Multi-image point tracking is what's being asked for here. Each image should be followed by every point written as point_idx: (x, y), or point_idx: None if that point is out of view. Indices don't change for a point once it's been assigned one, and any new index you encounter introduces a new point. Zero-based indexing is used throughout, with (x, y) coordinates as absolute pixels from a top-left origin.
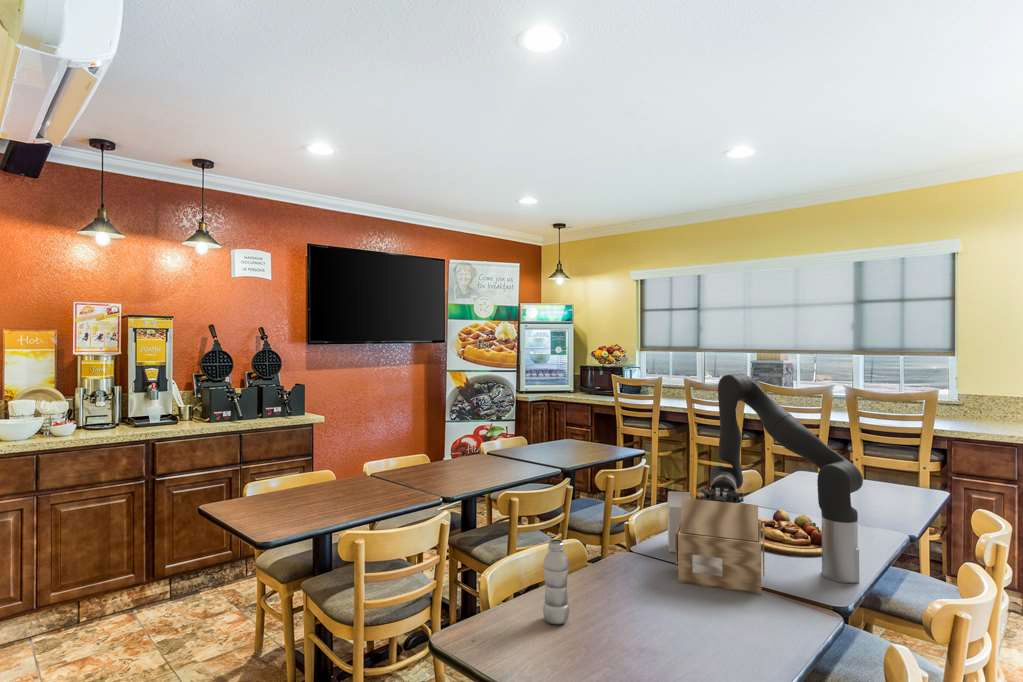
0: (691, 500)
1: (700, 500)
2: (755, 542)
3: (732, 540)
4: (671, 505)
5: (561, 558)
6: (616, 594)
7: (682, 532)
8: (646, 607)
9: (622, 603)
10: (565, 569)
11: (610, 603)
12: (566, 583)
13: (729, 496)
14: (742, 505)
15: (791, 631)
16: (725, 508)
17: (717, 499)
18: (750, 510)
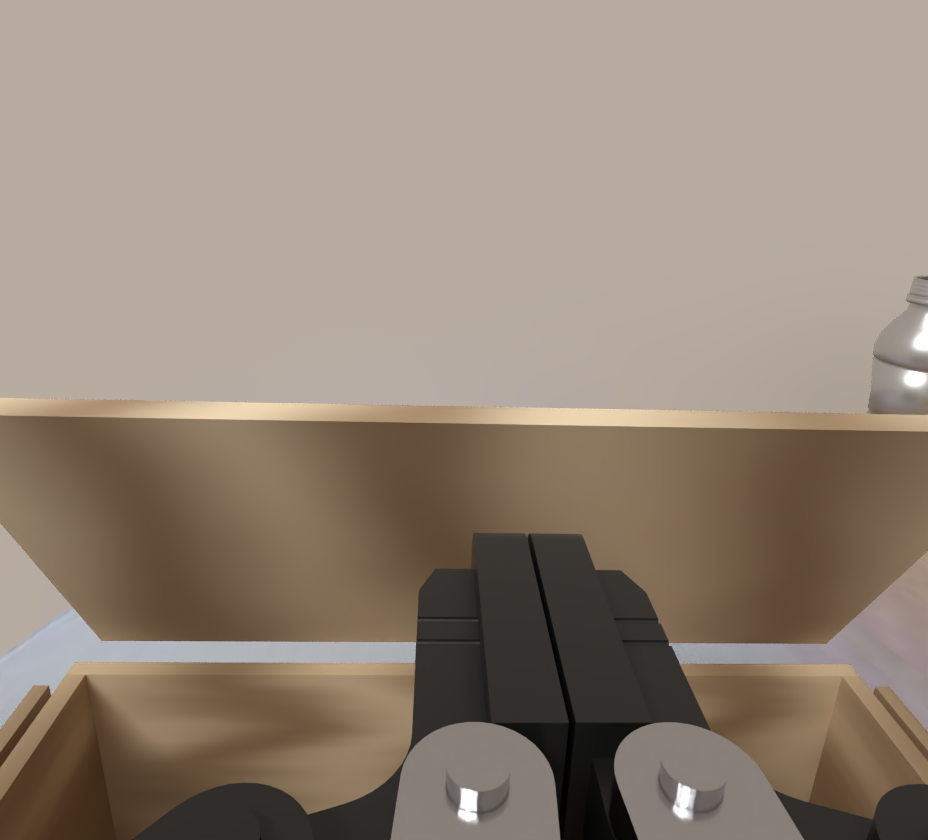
0: (893, 431)
1: (769, 420)
2: (122, 669)
3: (340, 664)
4: None
5: (893, 320)
6: (912, 699)
7: (803, 640)
8: (721, 644)
9: (821, 644)
10: (873, 352)
11: (858, 632)
12: (872, 405)
13: (273, 801)
14: (160, 418)
15: (148, 646)
16: (405, 465)
17: (573, 537)
18: (66, 456)
